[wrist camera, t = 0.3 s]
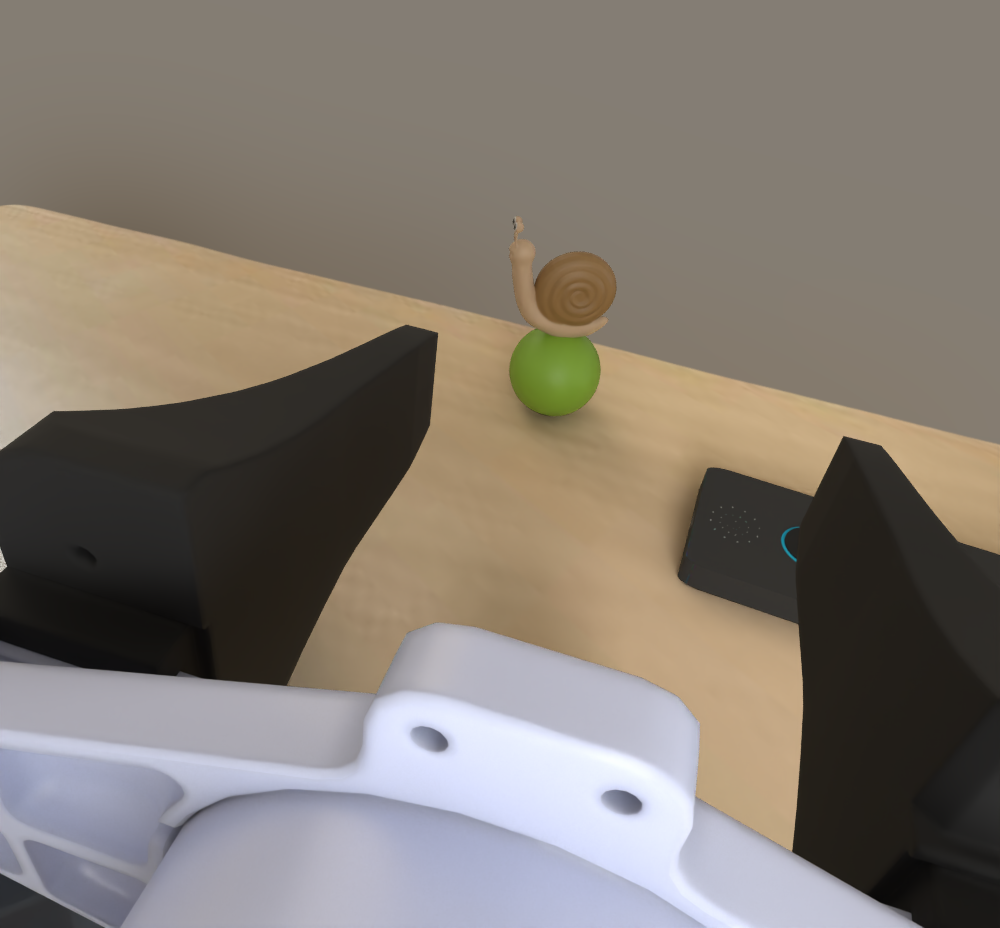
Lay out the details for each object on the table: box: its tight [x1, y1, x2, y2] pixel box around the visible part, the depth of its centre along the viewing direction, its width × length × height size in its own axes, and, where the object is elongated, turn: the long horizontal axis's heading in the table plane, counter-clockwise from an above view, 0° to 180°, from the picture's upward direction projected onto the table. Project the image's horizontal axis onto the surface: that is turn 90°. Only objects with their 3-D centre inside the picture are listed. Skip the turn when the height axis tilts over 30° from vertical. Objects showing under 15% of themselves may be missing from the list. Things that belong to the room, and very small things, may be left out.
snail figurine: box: [509, 216, 616, 416], centre depth 46 cm, size 5×6×12 cm
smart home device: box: [678, 468, 1000, 624], centre depth 40 cm, size 8×2×20 cm
